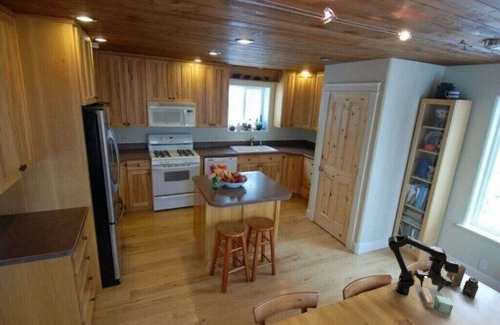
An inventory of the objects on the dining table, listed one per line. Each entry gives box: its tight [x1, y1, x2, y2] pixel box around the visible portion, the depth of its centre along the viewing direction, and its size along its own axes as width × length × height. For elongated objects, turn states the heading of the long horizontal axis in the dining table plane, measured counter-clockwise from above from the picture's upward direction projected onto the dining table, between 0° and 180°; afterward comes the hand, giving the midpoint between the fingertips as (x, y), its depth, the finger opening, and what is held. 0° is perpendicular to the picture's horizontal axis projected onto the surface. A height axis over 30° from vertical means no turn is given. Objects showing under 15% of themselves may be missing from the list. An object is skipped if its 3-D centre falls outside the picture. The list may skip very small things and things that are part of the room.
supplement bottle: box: [461, 276, 480, 299], centre depth 173 cm, size 7×7×12 cm
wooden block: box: [445, 260, 467, 286], centre depth 182 cm, size 4×11×18 cm, turn 97°
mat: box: [413, 283, 444, 311], centre depth 169 cm, size 15×21×1 cm
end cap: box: [434, 295, 454, 315], centre depth 160 cm, size 7×6×6 cm
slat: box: [421, 286, 434, 309], centre depth 167 cm, size 4×14×4 cm, turn 161°
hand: (429, 288), depth 165 cm, fingers open, 9 cm apart
